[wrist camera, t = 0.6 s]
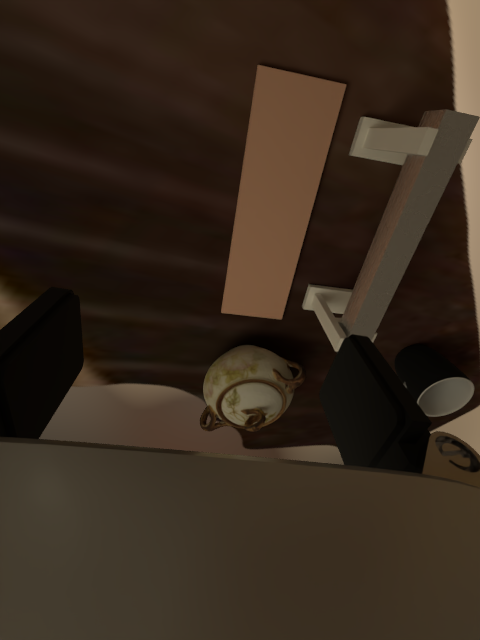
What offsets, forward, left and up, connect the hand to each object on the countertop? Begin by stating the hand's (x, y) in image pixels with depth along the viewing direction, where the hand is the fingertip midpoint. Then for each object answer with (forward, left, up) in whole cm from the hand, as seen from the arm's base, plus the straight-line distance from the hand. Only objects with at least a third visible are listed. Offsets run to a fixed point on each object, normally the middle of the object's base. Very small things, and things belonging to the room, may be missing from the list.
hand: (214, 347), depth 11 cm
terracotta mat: (+2, +7, -34) cm, 34 cm away
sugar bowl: (+28, +8, -34) cm, 45 cm away
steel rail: (+2, +19, -25) cm, 31 cm away
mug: (+24, +40, -34) cm, 58 cm away
